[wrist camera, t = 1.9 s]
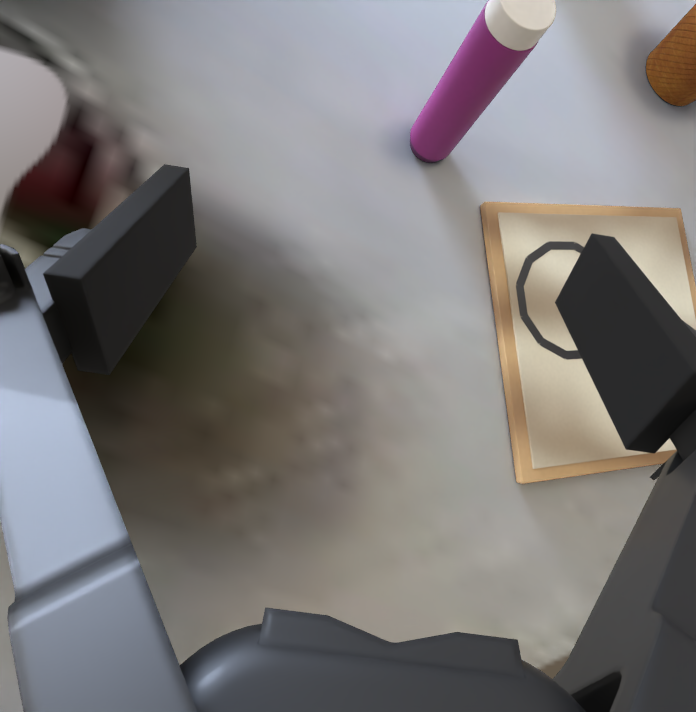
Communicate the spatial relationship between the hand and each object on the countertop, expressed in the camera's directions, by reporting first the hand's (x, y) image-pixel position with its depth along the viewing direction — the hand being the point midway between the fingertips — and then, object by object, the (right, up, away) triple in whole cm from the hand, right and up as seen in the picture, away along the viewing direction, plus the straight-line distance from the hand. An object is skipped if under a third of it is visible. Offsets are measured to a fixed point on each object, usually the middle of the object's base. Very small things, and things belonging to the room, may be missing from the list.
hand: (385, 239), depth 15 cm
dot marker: (+5, +13, +21) cm, 25 cm away
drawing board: (+20, -2, +23) cm, 30 cm away
